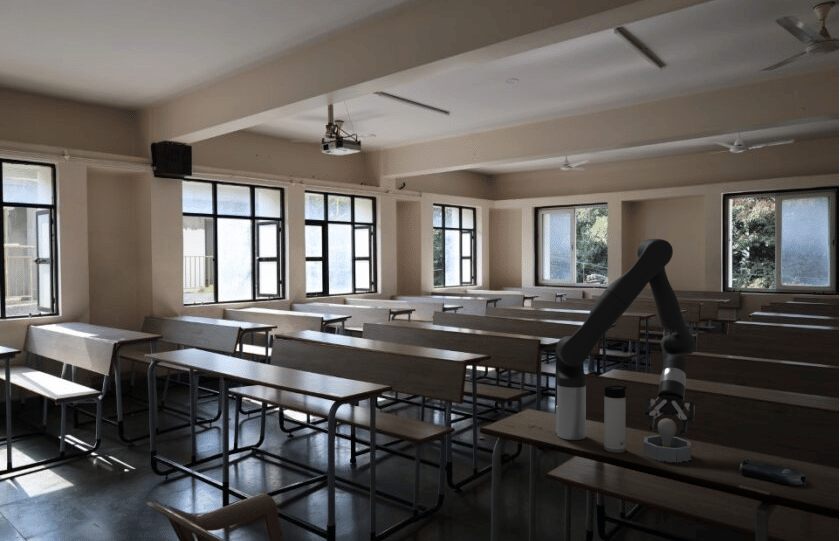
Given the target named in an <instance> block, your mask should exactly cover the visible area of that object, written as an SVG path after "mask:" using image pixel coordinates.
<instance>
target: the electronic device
mask: <svg viewBox="0 0 840 541" xmlns="http://www.w3.org/2000/svg"><path fill="white" fill-rule="evenodd" d="M739 465H740V466H739V472H740V474H741V475H743V476H748V477H752V478H756V477H757V479H762V480H766V481H767V480H768V481H771V482H773V483H777V484H781V485H785V486H795V487H797V486H802V485H804V486H806V483H807V479H806V475H805V474H804V473H802V472H801V471H799V470H797V469H794V468H790V467H785V466H780V465H776V464H772V463H771V464H769V463H763V462H760V461H752V460H750V459H748V458H745V459H743V460H742V461H741V463H740V464H739Z"/></svg>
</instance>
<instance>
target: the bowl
mask: <svg viewBox="0 0 840 541" xmlns="http://www.w3.org/2000/svg"><path fill="white" fill-rule="evenodd" d="M643 439H644V440H643V456H644V457H647V458H649V457H650V459H652V460H654V459H655V460H654V461H656V460H657V462H664V461H666V462H665V463H672V462H675V463H674V464H679V463H678V462H680V463H683V462H682V461H686V462H689V461H688V460H691V461H692V445H691V444H692V443H691V441H689V440H686V439H683V438H681V437H677V436H674V437H673V438H672V440H671V445H670V447H663V440H662V437H661V435H660V434H659V435H658V434H657V435H649V436H644V438H643ZM676 462H677V463H676Z"/></svg>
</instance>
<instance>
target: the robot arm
mask: <svg viewBox="0 0 840 541" xmlns="http://www.w3.org/2000/svg"><path fill="white" fill-rule="evenodd" d="M673 254H674V249H673V246H672V245H671V243H670V242H669V241H667V240H666V239H662V238H650V239H648V238H647V239H646V240H643V241H642V242H641V243H640V244H639V245H638V247H637V258H638V259H637V260H636V261H635V263H634V264H633V265H632V266H631V267H630V268H629V269H628V270H627V271H626V272H624V273H623V274H622V275H620V276H619V277H618V278H616V279H615V280H614V281H613V282H611V284H609V285H608V286H607V288H605V290H603V292H602V293H601V294H600V296H599V297H598V298H597V299H596V300H595V302H594V303H593V305H592V308H590V311H589V314H588V315H587V317H586V319H585V320H584V322H583V323H582V324H581V326H580V327H579V328H578V329H577V330H576V331H575V332H574V333H573V334H572V335H566V336H563V337H561V338H560V339H559V340H558V341H557V344H556V347H555V375H556V383H557V386H556V390H557V391H556V392H557V393H556V394H557V395H556V396H557V397H556V400H557V401H556V404H557V405H556V406H555V434H556V433H557V434H556V435H557V436H556V437H558V438H560V439H563V440H569V441H579V440H584V439H586V430H587V428H586V427H587V424H586V423H587V422H586V421H587V420H586V418H587V417H586V413H587V404H586V403H587V402H586V401H587V399H586V398H587V395H586V394H587V390H586V389H587V386H586V384H587V379H586V374H585V367H584V364H585V363H584V362H585V361H586V360H587V359H588V358H589V356H590V354H591V353H592V352H593V350H594V348H595V347H596V346H597V344H598V342H600V340H601V338H602V337H603V336H604V335H605V334H606V333H607V332H608V331H609V330H610V329H611V328H612V327H613V326H614V325H615V323H616V322H617V321H619V319H620V318H621V317H622V315H624V314H625V312H626V311H627V310H628V309H629V308H630V307H631V305H632V304H633V303H634V301H635V300H636V299H637V297H638V296H639V295H640V294H641V292H642V291H643V290H644V288H645V287H646V286H647V284H649V287H650V290H651V293H652V296H653V298H654V299H653V300H654V302H655V306H656V310H657V314H658V318H659V322H660V324H661V327H662V328H663V329H666V330H667V329H668V330H673V331H675V332H676V333H673V334H666V335H664V336H663V337H662V338H661V340H660V348H661V352H662V359H663V364H662V369H661V370H662V372H661V374H660V379H659V386H658V393H657V398H655V399H653V398H651V397H650V396H647V397H646V399H645V402H644V406H643V416H644V417H645V418H647V419H648V421H647V422H648V423H647V425H648V429H650V431H654V429H655V428H654V427H655V419H656V418H657V417H660V416H661V415H662V414H663V415H664V416H668V415H669V416H677V417H678V419H680V420H681V422H680V430H679V432H680V435H684V434H686V432H687V427H688V424H690V423H691V424H694V423H695V409H696V408H695V407H696V406H695V403H694V402H693V401H690V402H685V392H686V388H687V385H686V384H687V377H686V376H687V368H688V361H687V360H686V359H685V357H683V355H684V356H685V355H687V356H688V355H691V354H693V353H695V350H696V341H695V339H694V338H695V337H694V336H693V335H692V333H691V331H690V330H689V328H688V325H686V322H685V320H684V318H683V315H682V310H681V305H680V303H679V300H678V298H677V294H676V293H675V290H674V289H673V288H672V285H671V283H670V281H669V279H668V276H667V272H666V269H665V267H666V266H668V264H669V263H670V261H671V260H672V257H673ZM654 405H655V407H654V408H653V410H652V411H651V407H653V406H654ZM685 408H686V410H687V411H688V412H689V415H688V416H686V415H685V413H684V411H683V410H684V409H685Z"/></svg>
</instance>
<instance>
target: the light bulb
mask: <svg viewBox="0 0 840 541" xmlns="http://www.w3.org/2000/svg"><path fill="white" fill-rule="evenodd" d="M656 428H657V431H658V434H659V435H661V437H662V440H663V447H670V445H671V440H672V438H673V437H675V435H676V433H677V431H678V426H677V423H676V422H675V421H674V420H673V419H671V418H668V417H667V418H662V419H660V420H659V421H658V423H657V426H656Z"/></svg>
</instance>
